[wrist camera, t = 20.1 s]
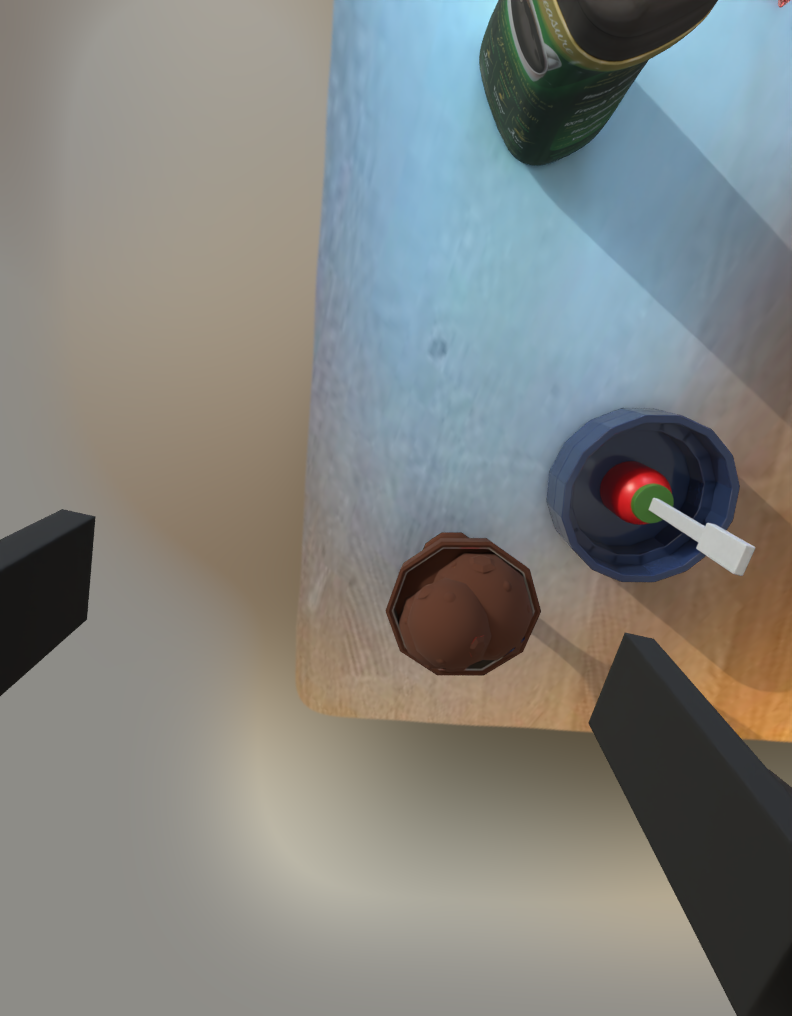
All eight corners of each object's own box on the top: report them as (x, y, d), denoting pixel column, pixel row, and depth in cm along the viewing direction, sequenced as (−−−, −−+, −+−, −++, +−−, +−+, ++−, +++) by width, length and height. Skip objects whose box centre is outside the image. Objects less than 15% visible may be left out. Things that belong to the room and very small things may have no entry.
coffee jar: (617, 132, 39) (807, -50, 21) (513, 185, 40) (609, 54, 22) (572, -21, 36) (743, -377, 18) (461, 39, 37) (523, -244, 19)
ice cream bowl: (412, 630, 50) (418, 746, 36) (373, 521, 47) (363, 599, 33) (524, 598, 49) (577, 704, 35) (492, 484, 46) (536, 549, 32)
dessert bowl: (525, 442, 45) (541, 454, 40) (682, 382, 44) (718, 387, 39) (570, 579, 48) (589, 604, 44) (717, 527, 47) (753, 548, 42)
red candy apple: (592, 507, 46) (690, 589, 31) (610, 455, 45) (722, 513, 29) (643, 519, 46) (765, 606, 31) (663, 468, 45) (801, 532, 30)
